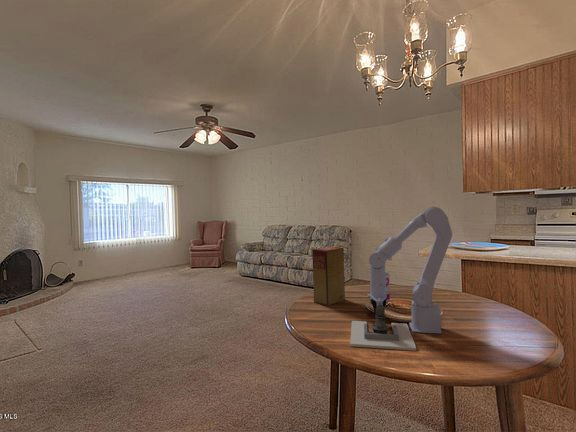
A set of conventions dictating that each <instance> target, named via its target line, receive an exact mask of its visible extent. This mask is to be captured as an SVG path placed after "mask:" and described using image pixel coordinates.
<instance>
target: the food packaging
mask: <svg viewBox="0 0 576 432" xmlns="http://www.w3.org/2000/svg"><path fill="white" fill-rule="evenodd" d="M311 254H312V255H311V257H312V283H313V303H316V304H319V305H322V306H326V307H329V306H331V305H334V304H337V303H340V302H343V301H345V300H346V289H345V288H346V287H345V263H344V262H345V261H344V260H345V258H344V257H345V256H344V247H340V246H326V247H320V248H313V249H311Z"/></svg>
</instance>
